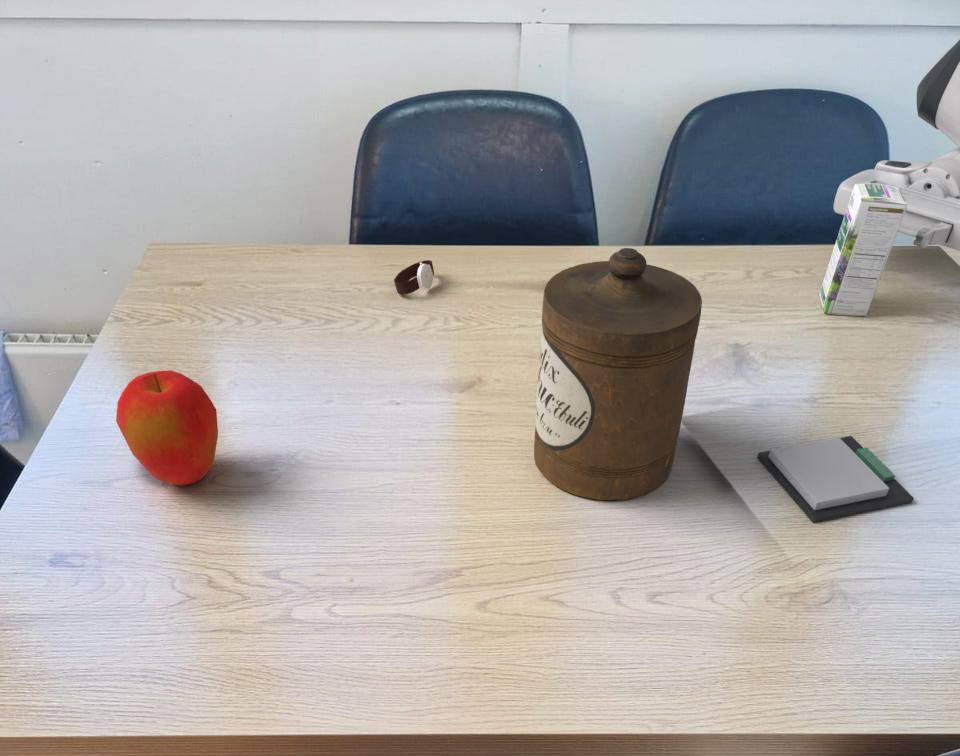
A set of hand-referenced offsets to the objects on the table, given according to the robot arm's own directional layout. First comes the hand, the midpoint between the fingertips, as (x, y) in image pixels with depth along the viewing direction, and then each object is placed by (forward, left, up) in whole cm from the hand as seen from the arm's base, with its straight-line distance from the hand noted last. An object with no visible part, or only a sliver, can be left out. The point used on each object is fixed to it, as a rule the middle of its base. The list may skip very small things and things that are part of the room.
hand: (885, 229), depth 112 cm
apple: (+92, +17, -9) cm, 94 cm away
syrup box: (+5, +3, -9) cm, 10 cm away
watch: (+59, -18, -9) cm, 62 cm away
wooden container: (+49, +26, -9) cm, 56 cm away
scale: (+29, +38, -8) cm, 48 cm away
